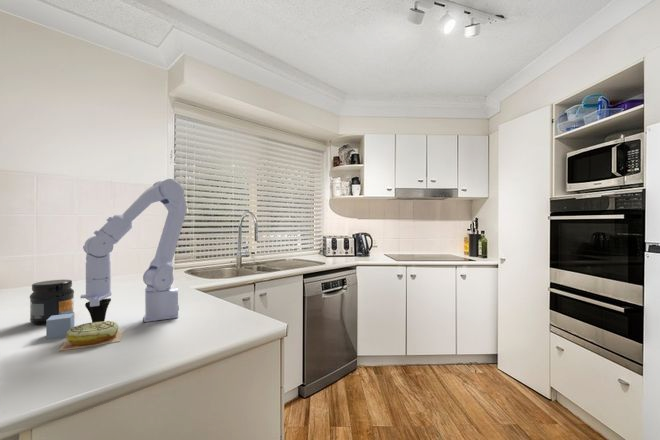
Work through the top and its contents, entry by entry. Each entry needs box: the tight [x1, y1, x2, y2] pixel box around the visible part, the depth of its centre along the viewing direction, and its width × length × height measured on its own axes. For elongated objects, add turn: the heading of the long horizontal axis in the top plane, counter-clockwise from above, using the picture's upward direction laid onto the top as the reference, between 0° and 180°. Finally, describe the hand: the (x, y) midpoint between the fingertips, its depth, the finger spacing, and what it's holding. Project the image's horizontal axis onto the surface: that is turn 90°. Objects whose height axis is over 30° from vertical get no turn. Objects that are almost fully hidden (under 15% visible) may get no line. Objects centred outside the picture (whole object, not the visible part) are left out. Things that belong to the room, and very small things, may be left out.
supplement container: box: [29, 279, 75, 326], centre depth 101 cm, size 10×10×12 cm
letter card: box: [59, 330, 123, 352], centre depth 83 cm, size 12×9×1 cm
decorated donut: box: [65, 320, 119, 346], centre depth 83 cm, size 10×11×4 cm
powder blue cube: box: [45, 312, 75, 340], centre depth 88 cm, size 5×5×5 cm
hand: (98, 326), depth 91 cm, fingers closed
